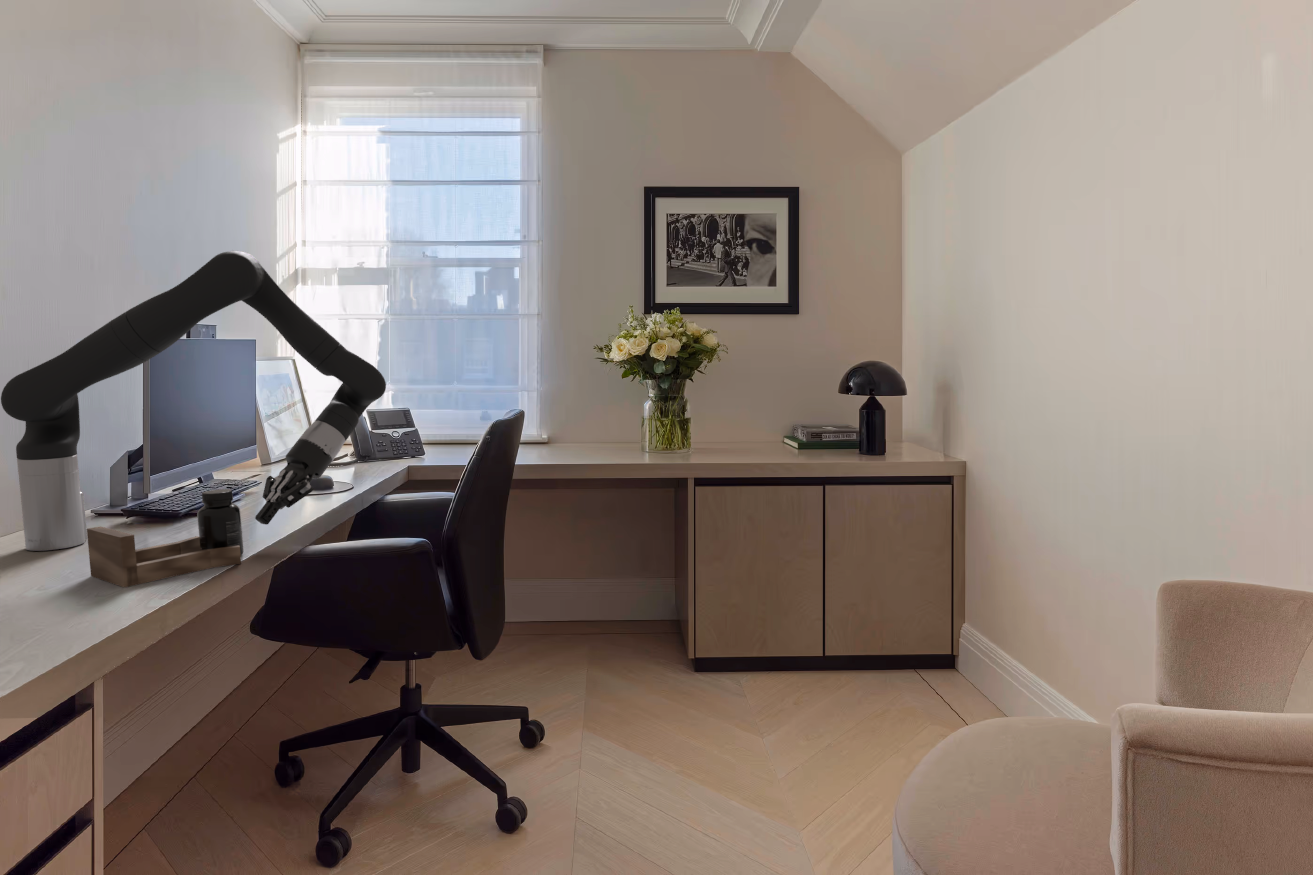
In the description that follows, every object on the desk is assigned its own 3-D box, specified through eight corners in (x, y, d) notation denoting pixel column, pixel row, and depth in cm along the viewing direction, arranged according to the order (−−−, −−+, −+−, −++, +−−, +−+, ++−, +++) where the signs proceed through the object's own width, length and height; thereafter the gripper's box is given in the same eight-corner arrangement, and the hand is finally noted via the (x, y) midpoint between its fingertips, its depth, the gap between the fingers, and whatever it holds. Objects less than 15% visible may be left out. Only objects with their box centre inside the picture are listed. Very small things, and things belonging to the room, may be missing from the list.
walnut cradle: (199, 551, 151) (196, 509, 150) (243, 562, 143) (240, 517, 142) (86, 574, 136) (82, 527, 135) (129, 588, 128) (124, 538, 127)
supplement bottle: (239, 550, 152) (235, 486, 151) (247, 557, 146) (243, 491, 145) (197, 556, 148) (192, 490, 146) (204, 564, 142) (199, 495, 141)
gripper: (283, 435, 163) (226, 506, 154) (323, 439, 155) (265, 513, 146) (309, 459, 167) (255, 529, 159) (349, 463, 160) (295, 537, 151)
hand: (260, 521), depth 153 cm, fingers closed
